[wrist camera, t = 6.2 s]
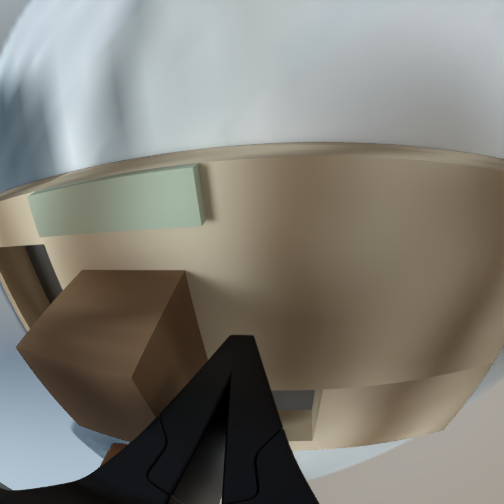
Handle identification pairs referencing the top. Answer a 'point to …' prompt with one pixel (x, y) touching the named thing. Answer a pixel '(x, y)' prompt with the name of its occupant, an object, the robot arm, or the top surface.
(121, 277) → the walnut block
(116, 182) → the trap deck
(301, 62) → the top surface
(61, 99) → the top surface
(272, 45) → the top surface
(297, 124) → the top surface
